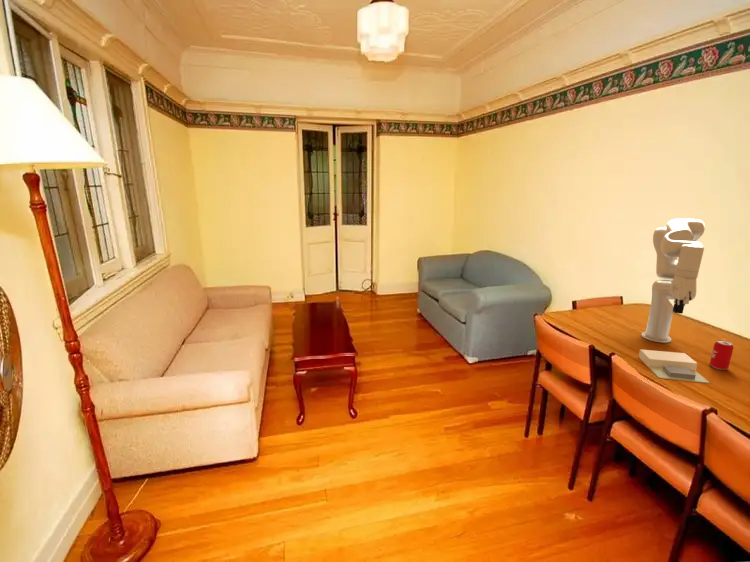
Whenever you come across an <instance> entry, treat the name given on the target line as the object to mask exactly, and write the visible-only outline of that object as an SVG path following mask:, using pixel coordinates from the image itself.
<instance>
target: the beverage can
mask: <svg viewBox="0 0 750 562" xmlns="http://www.w3.org/2000/svg"><path fill="white" fill-rule="evenodd" d="M733 352H734V344H733V343H732V342H731V341H729V340H724V339H723V340H722V339H718V340H716V341H715V343H714V344H713V348H712V353H711V356H710V360H709V365H710V366H711V367H712V368H714V369H715V370H724V371H725V370H728V369H729V367H730V364H731V363H730V362H731V359H732V356H733Z"/></svg>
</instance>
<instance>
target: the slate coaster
mask: <svg viewBox="0 0 750 562" xmlns="http://www.w3.org/2000/svg"><path fill="white" fill-rule="evenodd" d="M663 371H664V372H665V373H666V374H667V375H668V376H669V377H676V378H685V379H695V376H696V375H695V374H694V373H693V372H692V371H690V370H689V369H688V368H679V367H669V366H664V367H663Z"/></svg>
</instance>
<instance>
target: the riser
mask: <svg viewBox="0 0 750 562" xmlns="http://www.w3.org/2000/svg"><path fill="white" fill-rule="evenodd" d="M638 358H639V359H640V361H642V363H644V365H646V367H657V368H663V367H664V366H669V367H679V368H688V369H689V370H690V371H696V372H697V367H698V362H697V361H695V360H694V359H692V357H690V356H689V355H687V354H686V353H685V352H674V351H662V350H661V351H660V350H653V349H652V350H650V349H639V354H638Z"/></svg>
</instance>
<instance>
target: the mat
mask: <svg viewBox="0 0 750 562" xmlns="http://www.w3.org/2000/svg"><path fill="white" fill-rule="evenodd" d="M647 367H648V366H647ZM648 369H649V370H650V371H651V372H652V373H653V374H654V375H655V376H656V377H657V378H658V379H665V380H673V381H683V382H692V383H693V382H694V383H703V384H710V382H709V381H708V380H707V379H706V378H705V377H704V376H702V375H701V374H700V373H699V372H697V370H696V371H692V372H693V373H694V374H695V375H696V376H695V379H685V378H676V377H669V376H668V375H667V374H666V373H665V372H664V371H663V368H657V367H648Z"/></svg>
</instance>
